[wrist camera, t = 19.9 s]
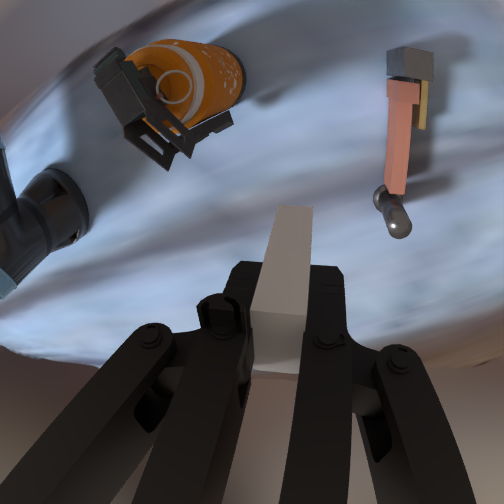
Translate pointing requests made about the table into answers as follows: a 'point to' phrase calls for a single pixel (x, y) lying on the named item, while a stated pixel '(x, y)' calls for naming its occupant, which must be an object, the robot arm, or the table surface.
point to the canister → (171, 93)
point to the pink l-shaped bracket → (399, 133)
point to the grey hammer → (413, 76)
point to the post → (392, 212)
